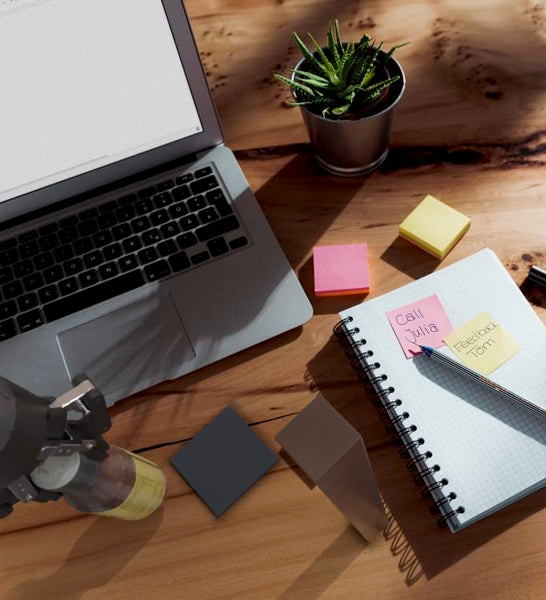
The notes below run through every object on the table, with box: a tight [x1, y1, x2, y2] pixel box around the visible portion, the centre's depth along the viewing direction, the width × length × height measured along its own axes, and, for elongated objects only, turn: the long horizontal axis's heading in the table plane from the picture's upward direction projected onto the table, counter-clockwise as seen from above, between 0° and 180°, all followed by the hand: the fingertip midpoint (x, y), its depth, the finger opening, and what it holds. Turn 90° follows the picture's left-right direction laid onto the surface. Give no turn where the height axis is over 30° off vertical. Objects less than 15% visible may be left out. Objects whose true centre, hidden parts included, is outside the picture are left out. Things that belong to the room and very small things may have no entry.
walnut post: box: [273, 393, 390, 544], centre depth 52 cm, size 3×3×46 cm
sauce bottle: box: [30, 443, 169, 521], centre depth 61 cm, size 6×6×20 cm
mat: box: [168, 405, 280, 518], centre depth 76 cm, size 9×9×1 cm
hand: (76, 470), depth 56 cm, fingers closed on sauce bottle, 4 cm apart
